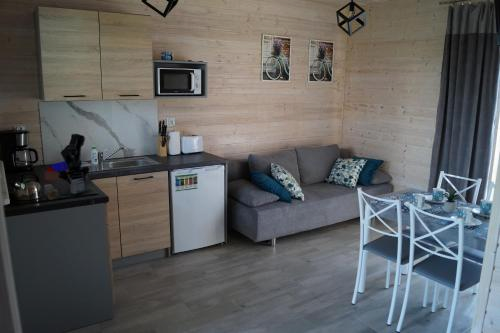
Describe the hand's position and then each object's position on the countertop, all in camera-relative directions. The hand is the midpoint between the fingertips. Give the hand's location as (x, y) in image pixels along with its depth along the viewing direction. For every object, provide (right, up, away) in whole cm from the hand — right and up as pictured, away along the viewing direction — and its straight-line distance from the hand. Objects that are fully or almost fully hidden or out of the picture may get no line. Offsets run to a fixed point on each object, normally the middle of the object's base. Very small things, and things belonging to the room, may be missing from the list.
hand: (77, 182), depth 269 cm
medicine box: (-1, -6, +2) cm, 7 cm away
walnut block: (-13, -10, -7) cm, 17 cm away
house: (-36, +2, +52) cm, 63 cm away
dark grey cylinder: (-17, -9, -1) cm, 19 cm away
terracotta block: (-20, -8, +4) cm, 22 cm away
